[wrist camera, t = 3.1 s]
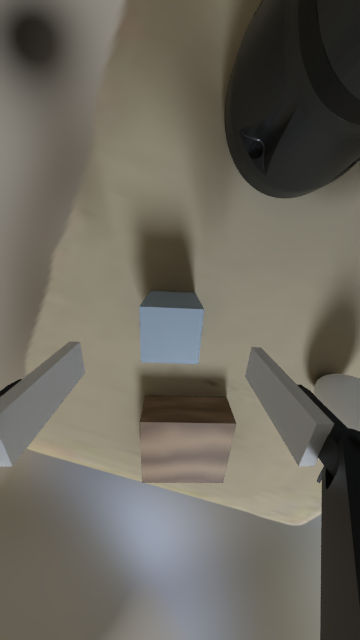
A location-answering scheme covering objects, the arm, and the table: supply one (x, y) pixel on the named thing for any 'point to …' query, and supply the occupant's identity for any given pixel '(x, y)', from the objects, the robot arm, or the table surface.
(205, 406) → the plinth
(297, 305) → the table surface
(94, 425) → the table surface
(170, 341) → the block
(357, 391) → the sauce bottle
